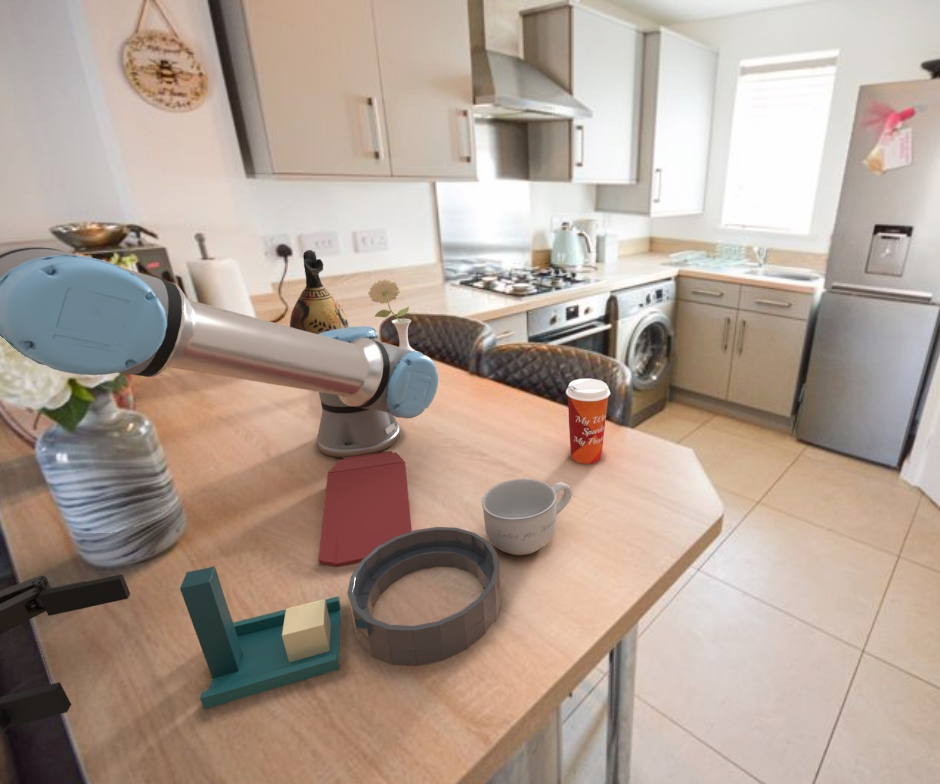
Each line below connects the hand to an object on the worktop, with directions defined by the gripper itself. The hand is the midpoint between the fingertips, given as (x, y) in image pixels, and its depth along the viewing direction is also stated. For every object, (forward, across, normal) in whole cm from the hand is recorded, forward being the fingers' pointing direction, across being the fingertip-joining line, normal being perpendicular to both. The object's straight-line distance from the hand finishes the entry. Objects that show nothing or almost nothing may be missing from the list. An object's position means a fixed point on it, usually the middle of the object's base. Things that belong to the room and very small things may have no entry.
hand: (98, 635), depth 49 cm
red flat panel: (+24, -25, -9) cm, 35 cm away
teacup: (+46, -10, -9) cm, 48 cm away
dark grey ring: (+30, -1, -9) cm, 31 cm away
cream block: (+17, 0, -8) cm, 19 cm away
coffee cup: (+63, -30, -9) cm, 71 cm away
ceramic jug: (+13, -114, -9) cm, 115 cm away
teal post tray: (+14, 0, -9) cm, 16 cm away
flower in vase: (+34, -92, -9) cm, 99 cm away
